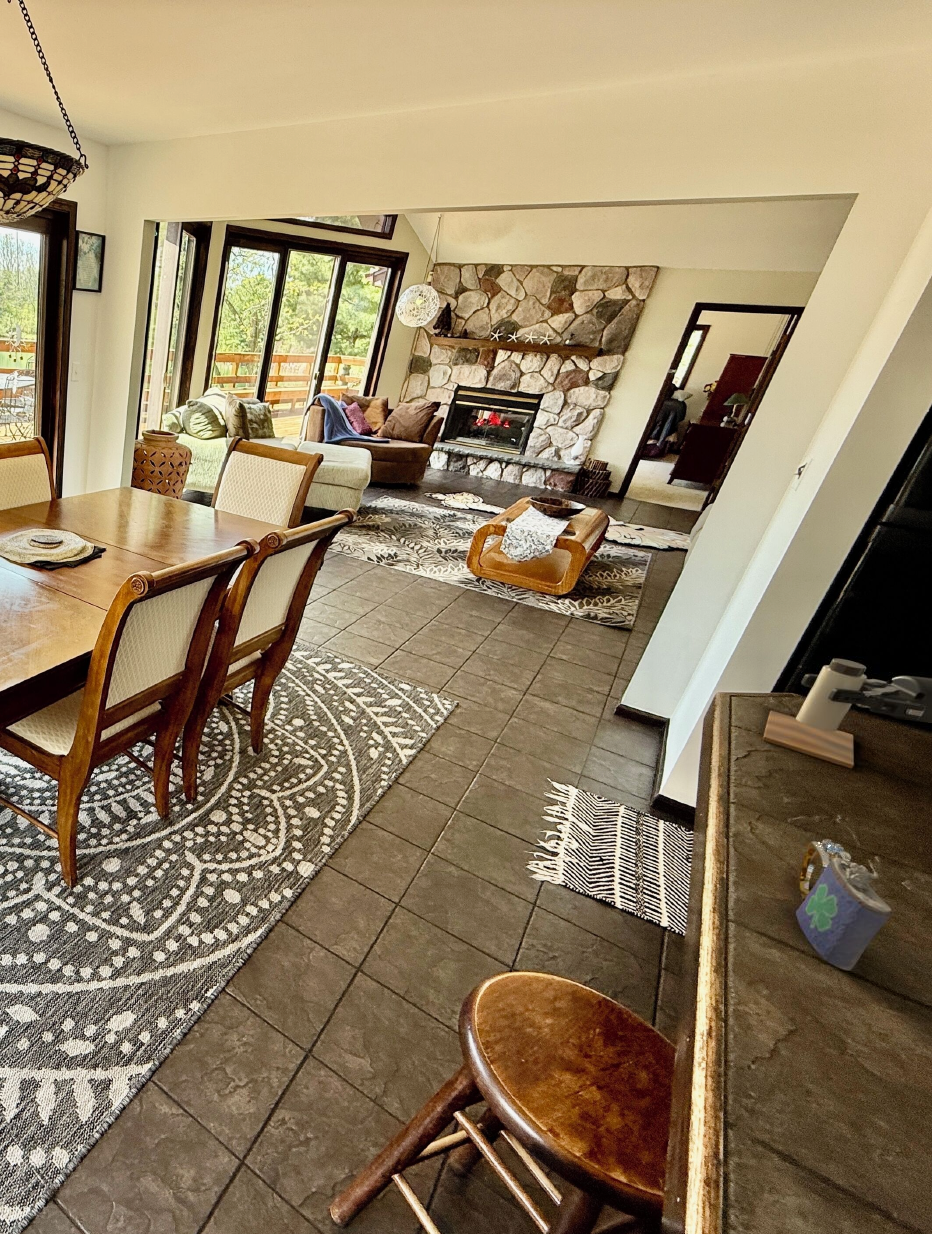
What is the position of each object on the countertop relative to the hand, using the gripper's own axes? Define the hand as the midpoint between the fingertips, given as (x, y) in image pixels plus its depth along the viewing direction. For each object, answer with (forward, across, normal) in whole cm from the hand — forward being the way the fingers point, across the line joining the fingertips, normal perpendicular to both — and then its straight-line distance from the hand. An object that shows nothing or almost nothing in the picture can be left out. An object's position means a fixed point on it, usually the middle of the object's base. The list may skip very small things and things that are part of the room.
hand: (818, 687), depth 114 cm
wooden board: (-2, 0, +10) cm, 10 cm away
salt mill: (-3, 0, +7) cm, 7 cm away
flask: (+36, +56, +10) cm, 68 cm away
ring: (+32, +48, +10) cm, 58 cm away
